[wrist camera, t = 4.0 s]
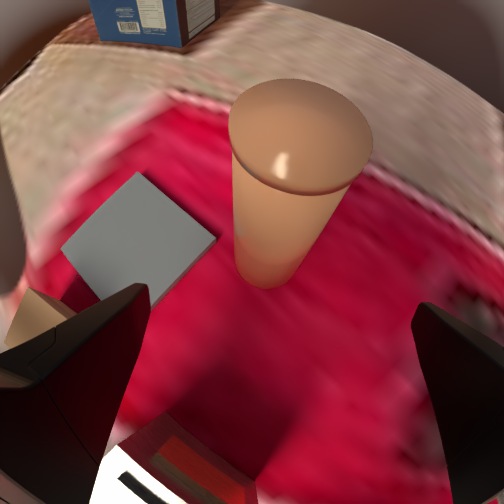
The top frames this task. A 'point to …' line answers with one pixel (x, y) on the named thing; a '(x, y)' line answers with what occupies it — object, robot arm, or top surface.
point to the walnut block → (36, 317)
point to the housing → (169, 470)
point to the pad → (137, 242)
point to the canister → (290, 172)
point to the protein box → (153, 20)
